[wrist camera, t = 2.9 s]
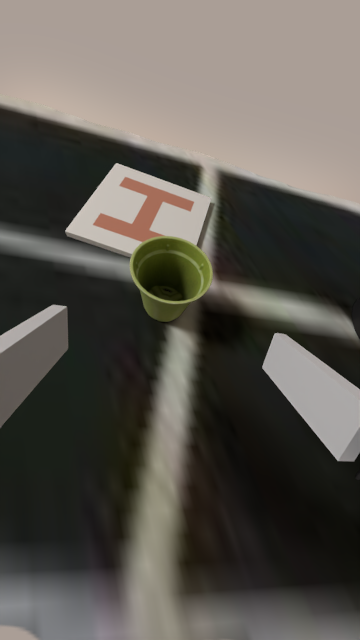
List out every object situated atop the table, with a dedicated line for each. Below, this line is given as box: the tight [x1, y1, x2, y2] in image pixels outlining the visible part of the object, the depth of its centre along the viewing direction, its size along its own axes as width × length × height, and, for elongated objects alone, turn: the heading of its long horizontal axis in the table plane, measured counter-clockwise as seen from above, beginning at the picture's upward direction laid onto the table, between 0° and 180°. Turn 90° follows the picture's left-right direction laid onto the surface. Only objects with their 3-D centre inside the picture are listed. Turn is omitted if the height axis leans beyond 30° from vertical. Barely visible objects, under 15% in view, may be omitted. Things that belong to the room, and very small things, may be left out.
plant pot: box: [130, 236, 213, 322], centre depth 26 cm, size 9×9×9 cm
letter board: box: [65, 163, 211, 258], centre depth 36 cm, size 20×20×1 cm
